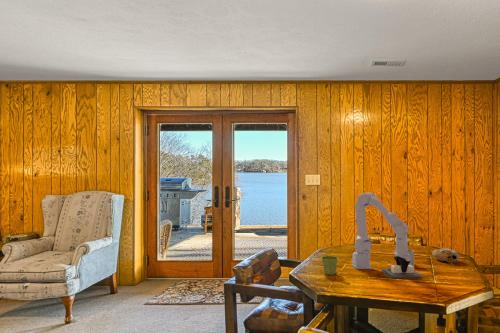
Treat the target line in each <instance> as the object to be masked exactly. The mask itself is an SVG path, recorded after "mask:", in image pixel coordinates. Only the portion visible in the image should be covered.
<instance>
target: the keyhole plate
mask: <svg viewBox="0 0 500 333" xmlns="http://www.w3.org/2000/svg"><path fill="white" fill-rule="evenodd" d="M381 273H383V274H384V275H386V276H388V277H389V278H390V279H413V278H414V279H416V278H417V279H418V278H422V274H421V273H419V272H417V271H415V270H414V273H399V274H394V273H393V272H391V268H381Z"/></svg>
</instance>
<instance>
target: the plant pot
mask: <svg viewBox="0 0 500 333" xmlns="http://www.w3.org/2000/svg"><path fill="white" fill-rule="evenodd" d="M320 259H321V261H322V265H323V266H322V267H323V273H324V274H325V275H328V276H329V275H330V276H334V275H336V273H337V266H338V265H337V264H338V261H339V257H338V256H333V255H324V256H323V255H322V256H321V257H320Z"/></svg>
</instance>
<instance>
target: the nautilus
mask: <svg viewBox="0 0 500 333" xmlns="http://www.w3.org/2000/svg"><path fill="white" fill-rule="evenodd" d="M431 255H432V256H433V257H435V258H436V259H437V260H439V261H441V262H443V261H445V262H447V263H448V266H449V265H452V266H453V263H456V262H457V261H458V260H459V258H460V254H459V253H458V252H457V251H456V250H453V249H451V248H445V247H444V248H438V249H436V248H435V249H434V250H433V251H432V252H431Z"/></svg>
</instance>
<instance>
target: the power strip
mask: <svg viewBox="0 0 500 333" xmlns="http://www.w3.org/2000/svg"><path fill="white" fill-rule="evenodd" d="M390 269H391V272H393V273H394V274H399V273H402V270H401V265H397V264H395V265H394V264H393V265H392V264H390ZM414 271H415V266H412V265H408V268H407V271H406V273H414Z"/></svg>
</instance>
